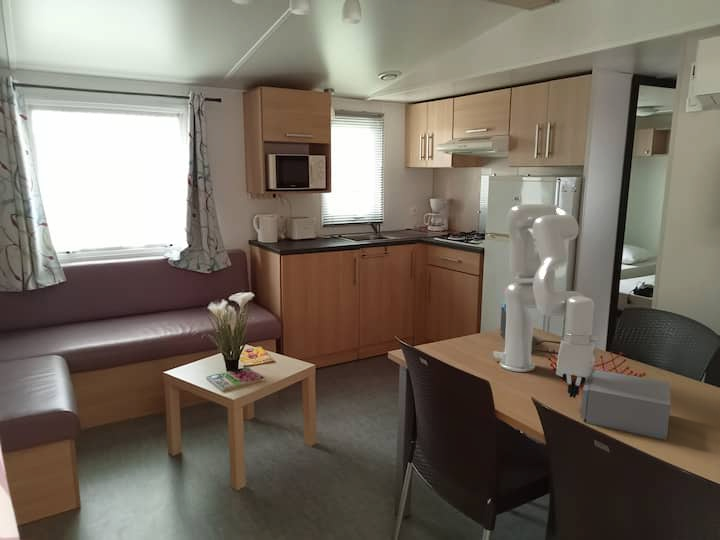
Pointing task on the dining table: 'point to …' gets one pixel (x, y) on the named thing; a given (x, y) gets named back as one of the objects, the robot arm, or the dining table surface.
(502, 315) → the game console
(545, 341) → the eyeglasses
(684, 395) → the dining table surface
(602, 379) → the block
